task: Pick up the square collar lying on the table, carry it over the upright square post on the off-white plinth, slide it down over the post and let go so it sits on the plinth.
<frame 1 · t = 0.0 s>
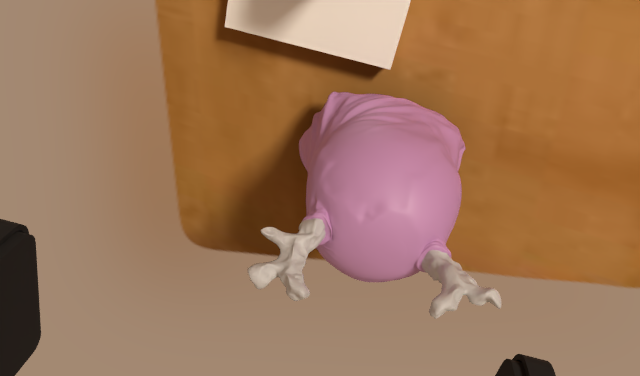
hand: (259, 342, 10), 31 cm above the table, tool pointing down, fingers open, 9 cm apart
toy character: (381, 137, 42), on the table
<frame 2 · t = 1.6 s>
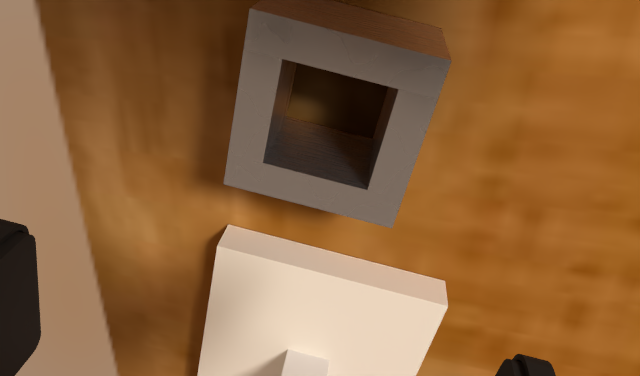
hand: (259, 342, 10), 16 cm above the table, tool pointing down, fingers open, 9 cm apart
post plinth: (309, 343, 32), on the table
collar: (340, 85, 24), on the table
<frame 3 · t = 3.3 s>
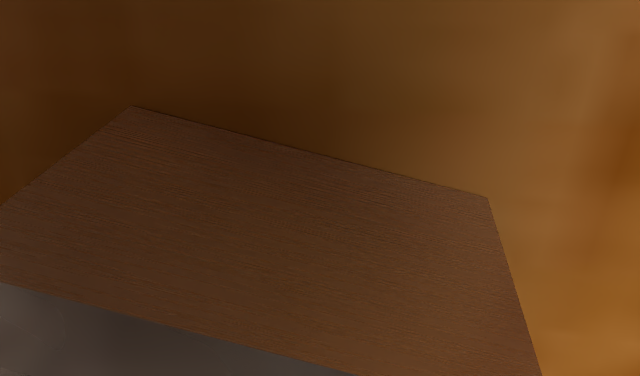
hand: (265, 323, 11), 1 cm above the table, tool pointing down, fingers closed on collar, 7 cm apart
collar: (276, 289, 12), on the table, touching gripper
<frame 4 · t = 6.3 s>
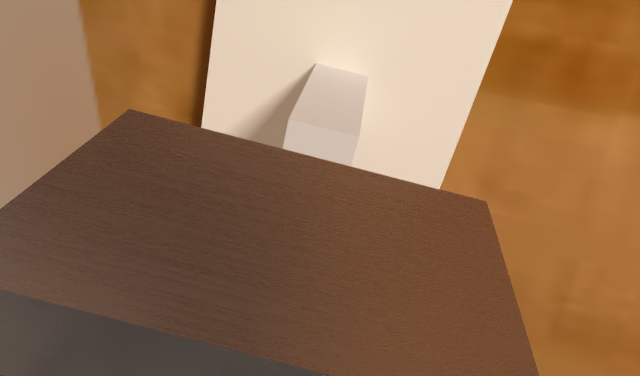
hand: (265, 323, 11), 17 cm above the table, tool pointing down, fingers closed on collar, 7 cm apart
post plinth: (340, 81, 26), on the table
collar: (275, 292, 12), point 16 cm above the table, touching gripper
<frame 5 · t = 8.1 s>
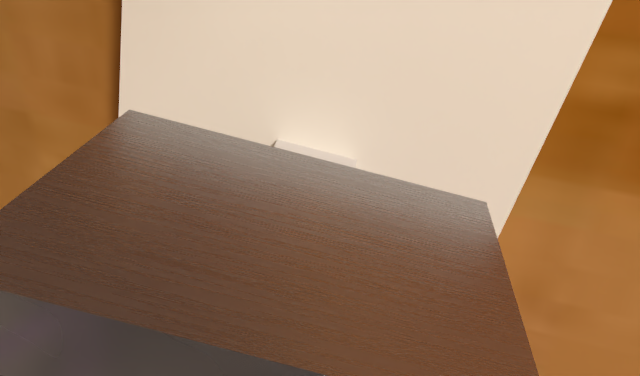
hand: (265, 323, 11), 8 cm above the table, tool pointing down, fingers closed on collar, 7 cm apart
post plinth: (317, 156, 18), on the table
collar: (275, 293, 12), point 7 cm above the table, touching gripper
when the fingers open (4 cm above the table, at t = 9.6 s): collar drops 1 cm, resting on post plinth.
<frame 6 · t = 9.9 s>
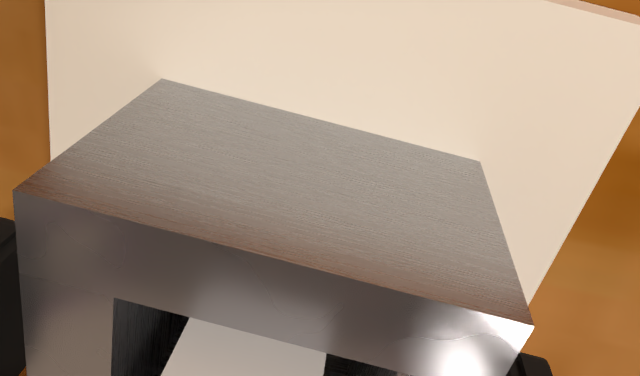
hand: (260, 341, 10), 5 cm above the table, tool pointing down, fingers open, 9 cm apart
post plinth: (299, 212, 15), on the table
collar: (289, 249, 13), point 2 cm above the table, touching post plinth
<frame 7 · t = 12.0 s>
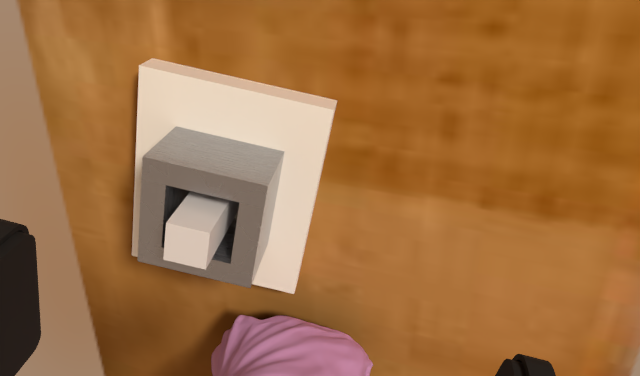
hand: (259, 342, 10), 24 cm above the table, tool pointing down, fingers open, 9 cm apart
post plinth: (231, 177, 36), on the table
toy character: (298, 338, 42), on the table
collar: (224, 187, 34), point 2 cm above the table, touching post plinth
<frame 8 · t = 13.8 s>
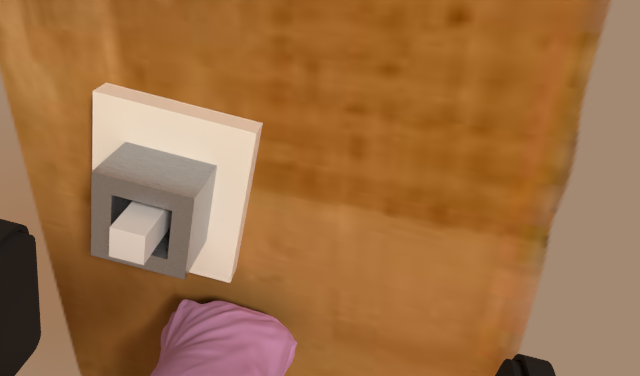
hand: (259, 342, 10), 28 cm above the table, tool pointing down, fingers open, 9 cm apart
post plinth: (176, 183, 42), on the table
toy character: (238, 319, 49), on the table
collar: (167, 193, 41), point 2 cm above the table, touching post plinth
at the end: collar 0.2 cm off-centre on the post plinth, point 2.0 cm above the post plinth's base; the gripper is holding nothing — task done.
